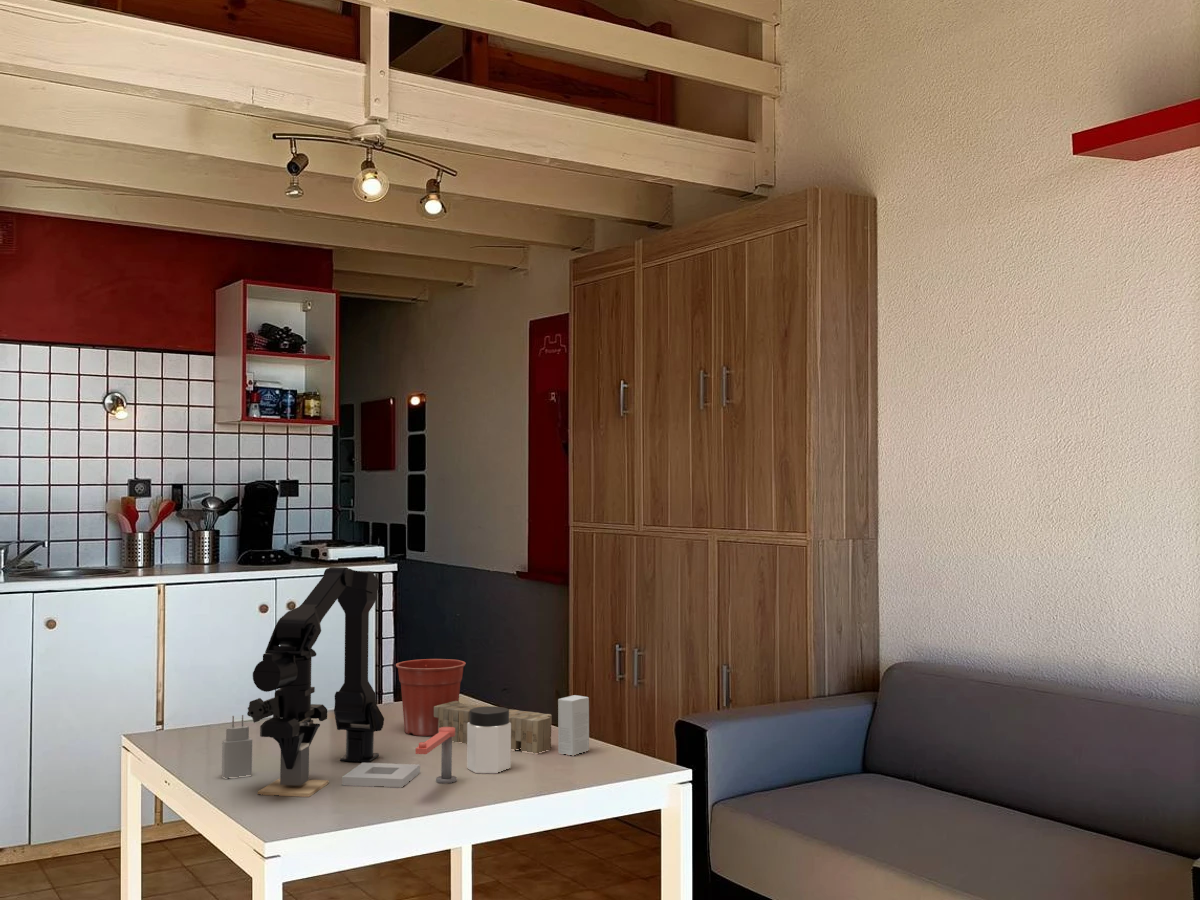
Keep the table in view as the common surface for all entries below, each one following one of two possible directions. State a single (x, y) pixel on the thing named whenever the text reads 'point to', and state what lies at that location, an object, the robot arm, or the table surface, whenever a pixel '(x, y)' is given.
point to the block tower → (525, 726)
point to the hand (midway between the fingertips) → (294, 766)
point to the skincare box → (573, 725)
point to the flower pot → (427, 691)
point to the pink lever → (435, 740)
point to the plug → (296, 768)
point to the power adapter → (237, 751)
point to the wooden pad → (294, 788)
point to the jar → (488, 740)
